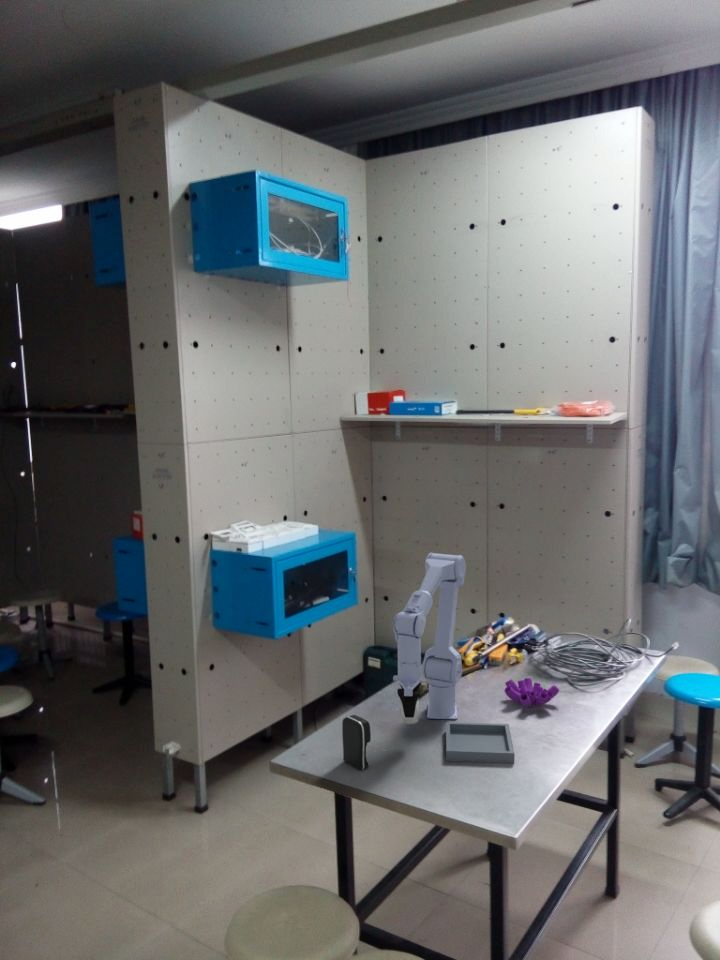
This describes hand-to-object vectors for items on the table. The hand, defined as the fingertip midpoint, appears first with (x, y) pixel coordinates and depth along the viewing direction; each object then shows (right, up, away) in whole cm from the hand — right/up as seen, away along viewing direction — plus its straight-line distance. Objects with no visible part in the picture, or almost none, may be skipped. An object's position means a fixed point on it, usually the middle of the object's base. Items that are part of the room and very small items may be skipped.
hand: (409, 712), depth 189 cm
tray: (+17, -8, -1) cm, 19 cm away
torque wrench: (+14, -4, +42) cm, 44 cm away
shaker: (0, -2, 0) cm, 2 cm away
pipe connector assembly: (+35, -5, +24) cm, 43 cm away
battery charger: (-13, -10, -9) cm, 18 cm away
